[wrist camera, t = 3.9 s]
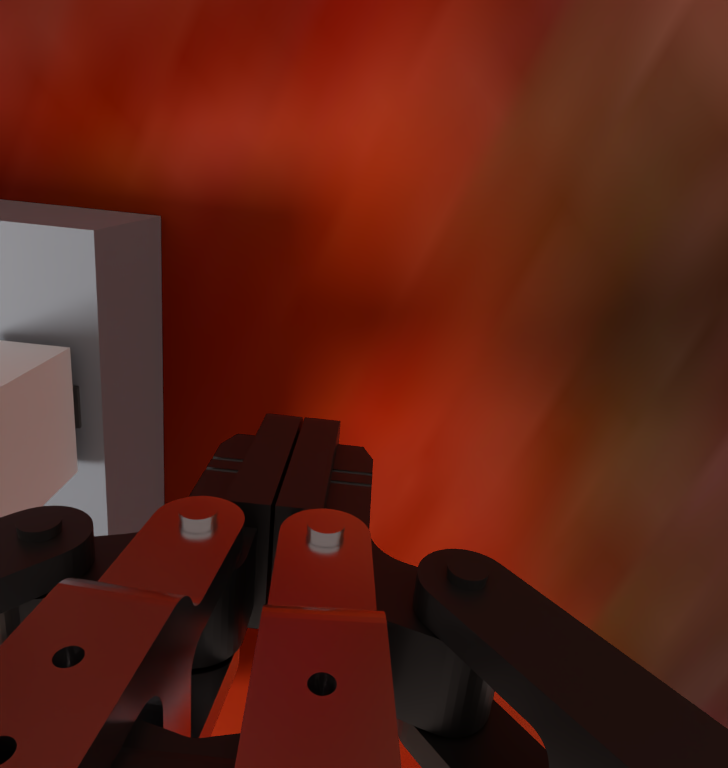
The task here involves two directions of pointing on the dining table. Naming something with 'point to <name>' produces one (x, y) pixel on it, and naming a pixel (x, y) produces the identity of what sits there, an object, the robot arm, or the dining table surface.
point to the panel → (95, 344)
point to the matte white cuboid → (35, 424)
